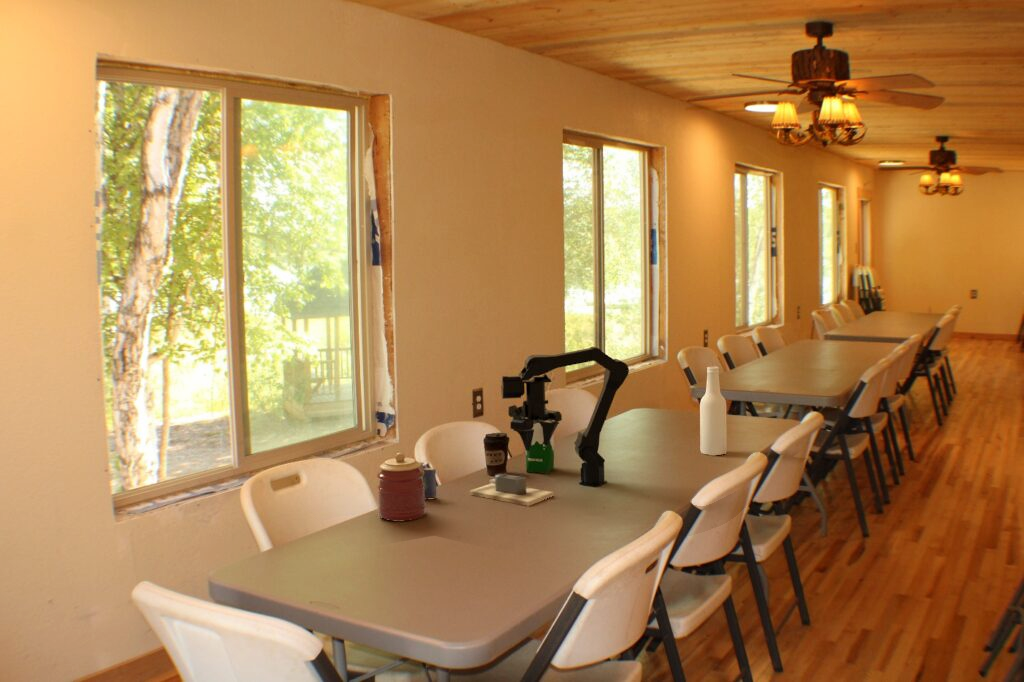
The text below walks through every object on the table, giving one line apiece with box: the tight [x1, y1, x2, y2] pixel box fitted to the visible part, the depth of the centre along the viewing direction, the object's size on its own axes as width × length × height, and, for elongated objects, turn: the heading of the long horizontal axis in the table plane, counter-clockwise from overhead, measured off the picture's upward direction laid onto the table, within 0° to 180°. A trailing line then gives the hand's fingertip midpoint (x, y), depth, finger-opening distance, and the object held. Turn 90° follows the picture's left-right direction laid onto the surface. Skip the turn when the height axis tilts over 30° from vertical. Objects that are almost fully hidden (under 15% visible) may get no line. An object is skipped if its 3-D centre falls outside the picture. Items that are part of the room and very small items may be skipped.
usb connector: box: [489, 473, 527, 495], centre depth 276 cm, size 13×4×4 cm, turn 52°
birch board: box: [469, 483, 554, 507], centre depth 276 cm, size 22×12×1 cm, turn 52°
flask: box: [420, 461, 437, 498], centre depth 276 cm, size 9×3×11 cm, turn 68°
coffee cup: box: [483, 432, 510, 476], centre depth 302 cm, size 9×8×13 cm
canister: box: [376, 452, 427, 521], centre depth 258 cm, size 13×13×18 cm
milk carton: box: [525, 408, 555, 474], centre depth 304 cm, size 9×9×20 cm
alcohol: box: [699, 365, 728, 455], centre depth 320 cm, size 9×9×30 cm
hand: (537, 448), depth 283 cm, fingers open, 9 cm apart
